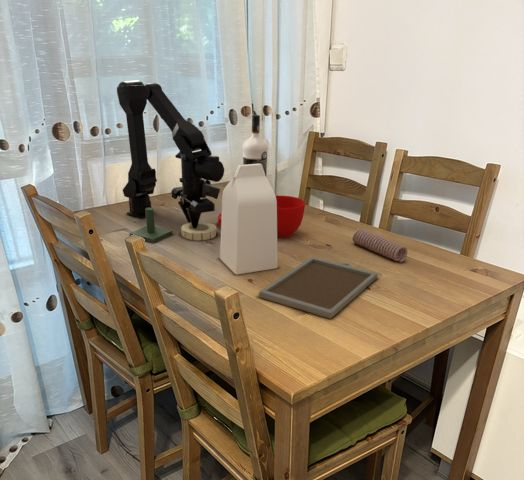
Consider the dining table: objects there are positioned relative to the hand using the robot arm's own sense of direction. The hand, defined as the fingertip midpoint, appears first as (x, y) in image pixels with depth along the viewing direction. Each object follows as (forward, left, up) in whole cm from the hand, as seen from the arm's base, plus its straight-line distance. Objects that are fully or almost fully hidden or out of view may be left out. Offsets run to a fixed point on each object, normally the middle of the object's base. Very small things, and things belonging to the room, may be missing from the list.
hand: (193, 227), depth 171 cm
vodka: (+4, +31, -1) cm, 31 cm away
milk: (+28, -13, -1) cm, 31 cm away
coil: (+55, +15, -1) cm, 57 cm away
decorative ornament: (+8, +11, -1) cm, 13 cm away
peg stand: (-7, -11, -1) cm, 13 cm away
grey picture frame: (+51, -15, -1) cm, 53 cm away
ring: (+4, -2, -1) cm, 4 cm away
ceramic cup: (+23, +14, -1) cm, 27 cm away
